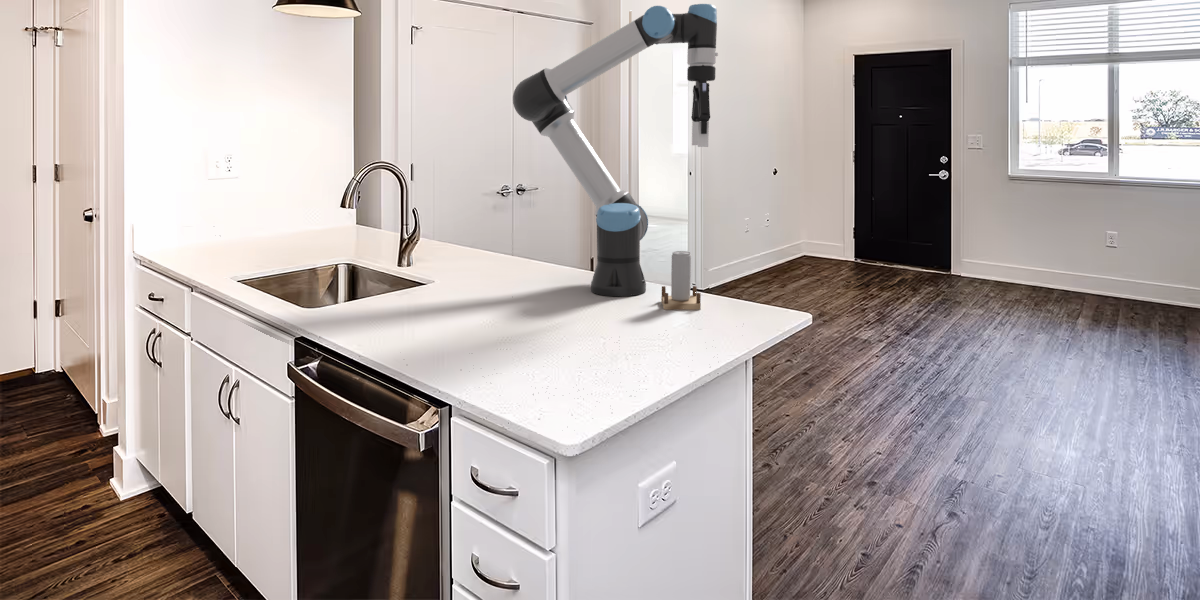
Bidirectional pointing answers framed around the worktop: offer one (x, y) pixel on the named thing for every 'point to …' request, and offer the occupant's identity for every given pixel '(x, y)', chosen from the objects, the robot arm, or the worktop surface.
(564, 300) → the worktop surface
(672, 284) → the beverage can
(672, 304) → the stand
